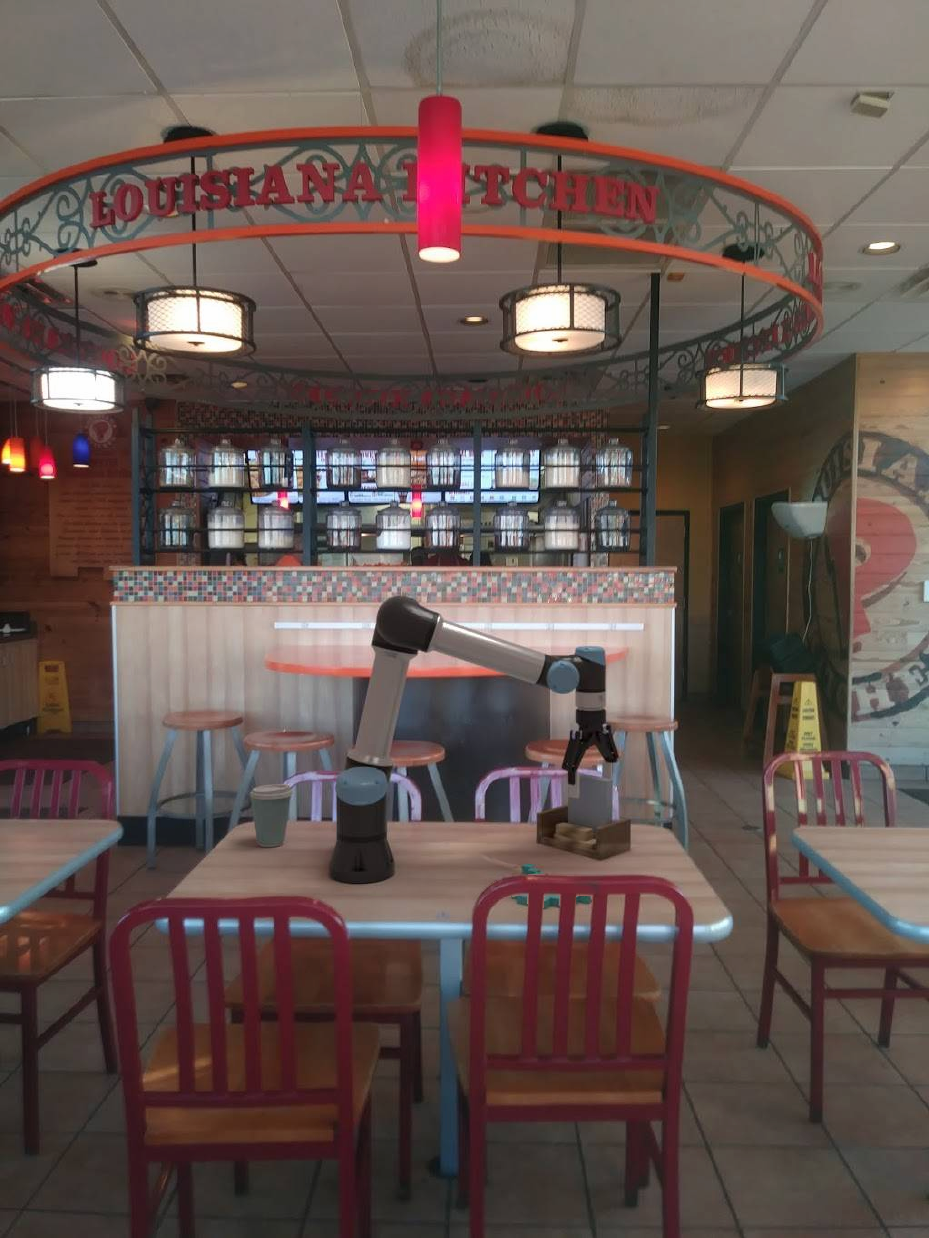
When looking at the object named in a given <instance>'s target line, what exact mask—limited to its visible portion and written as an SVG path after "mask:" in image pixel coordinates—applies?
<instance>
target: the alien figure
mask: <svg viewBox="0 0 929 1238" xmlns="http://www.w3.org/2000/svg"><path fill="white" fill-rule="evenodd" d="M535 866H536V864H532V863H528V862H526V863H525V864H523V865H522V869H521V870H522V871H521V874H523V875H527V874H545V875H546V873H545V872H541V868H535ZM510 875H511V874H509V875H508V876H510ZM511 899H514V900H516V904H518V905H523V906H527V895H518V896H515V897H512V896H511ZM559 899H560V897H559V896H558V895H546V897H545V901H544V909H543V910H547V909H549V907H557V908H560V907H559ZM591 902H592V901H591V897H590V896H578V897H576V905H577V904H579V903H580V904H586V905H589V904H590V903H591Z"/></svg>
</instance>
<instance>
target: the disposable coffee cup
mask: <svg viewBox="0 0 929 1238" xmlns="http://www.w3.org/2000/svg"><path fill="white" fill-rule="evenodd" d="M292 795H293V790H292V789H291V785H290V784H286V783H278V784H267V785H266V784H265V785H260V786H257V787H254V788H253V789H252V790H251V791H250V793H249V797H250V801H251V802H250V803H251V808H252V815H253V823H254V829H255V837H256V842H257V845H258V846H259V847H262V848H275V847H279V846H283V844H284V842H285V838H286V831H287V826H288V824H287V823H288V819H289V818H288V817H289V811H290V804H291V797H292Z"/></svg>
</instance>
